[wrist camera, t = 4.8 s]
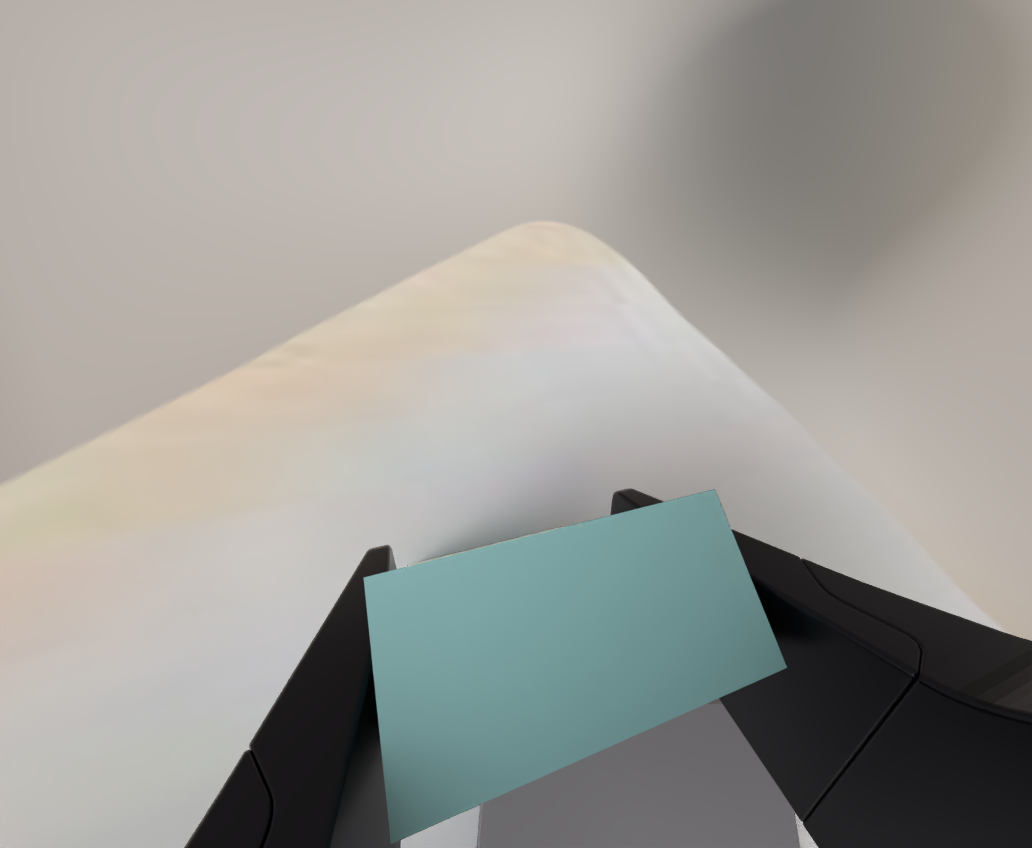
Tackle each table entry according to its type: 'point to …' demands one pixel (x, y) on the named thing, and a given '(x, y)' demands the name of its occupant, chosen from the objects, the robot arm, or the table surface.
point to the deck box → (555, 650)
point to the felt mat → (651, 795)
